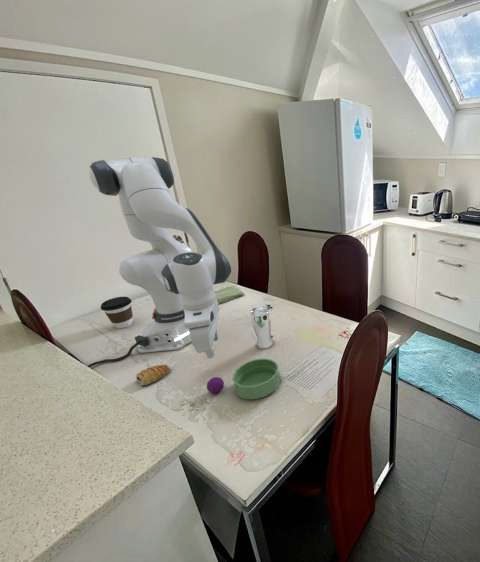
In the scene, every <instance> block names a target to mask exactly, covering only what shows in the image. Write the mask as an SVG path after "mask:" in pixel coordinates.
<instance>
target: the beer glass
mask: <svg viewBox="0 0 480 562" xmlns="http://www.w3.org/2000/svg"><path fill="white" fill-rule="evenodd" d="M250 320H251V321H250V322H251V325H252V328H253V329H252V330H253V331H254V334H255V336H256V339H257V344H256V346H257V348H259V349H268V348H270V347H271V346H273V344H274V341H273V338H272V320H271V315H270V312H269V309H268V308H266V307H259V308H255V309H253V310H252V311H250Z"/></svg>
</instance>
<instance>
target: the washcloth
mask: <svg viewBox="0 0 480 562" xmlns="http://www.w3.org/2000/svg"><path fill="white" fill-rule="evenodd" d="M213 291H214V292H215V294H216V297H217V301H218V305H219V304H222V303H227V302H229V301H232V300H234V299H237V298H239V297H242V296H243V295H245V293H244V291H242V290H241V289H240V288H239V287H237V286H236V285H231V286H226V287H223V288H221V289H218V290H213Z"/></svg>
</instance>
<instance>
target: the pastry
mask: <svg viewBox="0 0 480 562" xmlns="http://www.w3.org/2000/svg"><path fill="white" fill-rule="evenodd" d="M169 372H170V367H169V366H168V365H167V364H159V365H155V366H151V367H146V369H142V370H141V371H140V372H138V373H136V375H135V379H136V380H137V381H138V382H137V383H139V384H140V386H148V385H151V384H153V383H155V382H156V381H159V380H160V379H162V378H164V377H165V376H166V375H167V374H168V373H169Z"/></svg>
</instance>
